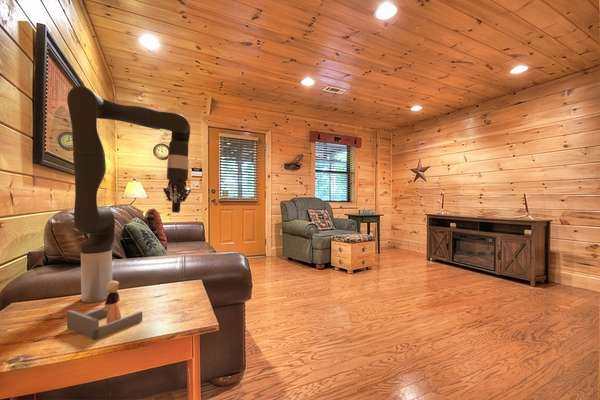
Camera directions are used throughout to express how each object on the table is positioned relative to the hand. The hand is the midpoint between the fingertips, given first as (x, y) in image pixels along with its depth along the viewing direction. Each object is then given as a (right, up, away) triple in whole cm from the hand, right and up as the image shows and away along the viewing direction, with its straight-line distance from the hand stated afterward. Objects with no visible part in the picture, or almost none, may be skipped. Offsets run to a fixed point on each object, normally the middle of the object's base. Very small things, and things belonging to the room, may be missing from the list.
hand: (175, 212), depth 110 cm
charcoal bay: (-8, -31, -27) cm, 42 cm away
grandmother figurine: (-6, -32, -27) cm, 42 cm away
